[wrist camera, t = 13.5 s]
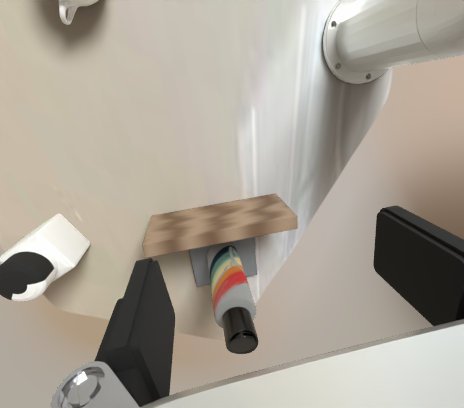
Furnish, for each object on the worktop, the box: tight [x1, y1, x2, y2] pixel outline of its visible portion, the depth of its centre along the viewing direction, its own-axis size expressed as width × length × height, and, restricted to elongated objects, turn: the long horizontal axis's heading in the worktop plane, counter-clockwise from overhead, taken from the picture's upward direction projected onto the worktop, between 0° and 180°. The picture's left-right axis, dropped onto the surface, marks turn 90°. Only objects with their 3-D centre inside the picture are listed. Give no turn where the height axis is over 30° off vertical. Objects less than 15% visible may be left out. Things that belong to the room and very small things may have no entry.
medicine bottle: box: [0, 214, 91, 301], centre depth 38 cm, size 7×7×12 cm
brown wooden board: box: [142, 194, 297, 258], centre depth 41 cm, size 22×2×10 cm, turn 97°
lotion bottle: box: [207, 242, 258, 354], centre depth 39 cm, size 6×6×20 cm
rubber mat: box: [189, 237, 257, 287], centre depth 49 cm, size 12×12×1 cm
